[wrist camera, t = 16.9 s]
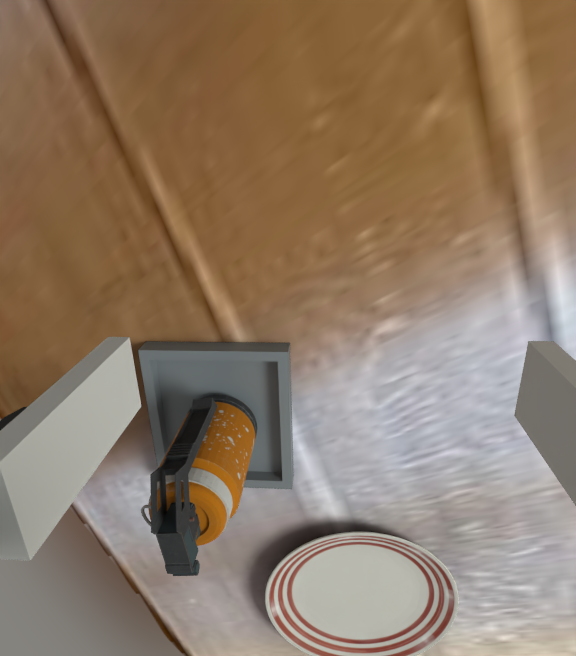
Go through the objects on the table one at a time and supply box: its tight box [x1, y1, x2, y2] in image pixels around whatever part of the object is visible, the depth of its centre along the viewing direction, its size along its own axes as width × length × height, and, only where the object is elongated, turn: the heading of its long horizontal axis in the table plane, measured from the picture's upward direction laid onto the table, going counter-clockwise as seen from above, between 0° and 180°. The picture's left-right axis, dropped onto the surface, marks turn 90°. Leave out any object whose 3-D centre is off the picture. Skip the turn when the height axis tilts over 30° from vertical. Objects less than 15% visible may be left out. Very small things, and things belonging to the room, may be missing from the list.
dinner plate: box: [265, 532, 459, 656], centre depth 66 cm, size 27×27×3 cm
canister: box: [141, 394, 257, 576], centre depth 47 cm, size 9×11×20 cm
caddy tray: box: [138, 342, 294, 489], centre depth 56 cm, size 19×17×2 cm
